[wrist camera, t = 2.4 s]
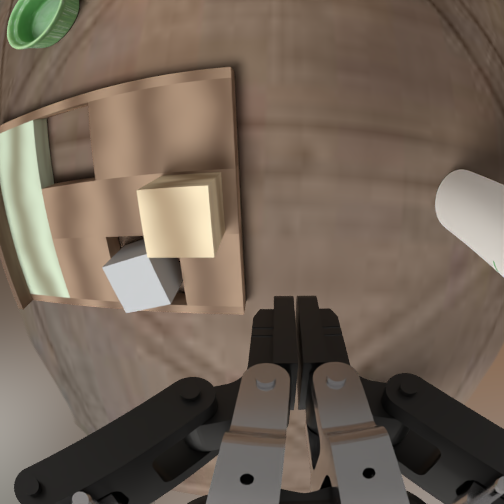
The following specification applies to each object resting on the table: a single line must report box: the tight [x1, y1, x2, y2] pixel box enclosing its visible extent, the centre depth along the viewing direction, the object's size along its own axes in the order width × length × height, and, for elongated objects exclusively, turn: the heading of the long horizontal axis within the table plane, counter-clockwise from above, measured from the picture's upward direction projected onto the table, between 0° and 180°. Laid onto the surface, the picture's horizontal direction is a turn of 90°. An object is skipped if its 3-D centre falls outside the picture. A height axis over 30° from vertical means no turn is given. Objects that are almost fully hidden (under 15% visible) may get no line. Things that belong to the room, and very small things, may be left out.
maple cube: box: [137, 172, 225, 258], centre depth 25 cm, size 6×6×6 cm
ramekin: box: [7, 0, 79, 49], centre depth 19 cm, size 9×9×4 cm
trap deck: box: [0, 67, 246, 315], centre depth 28 cm, size 31×24×5 cm
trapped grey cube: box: [102, 239, 183, 313], centre depth 30 cm, size 6×6×6 cm
